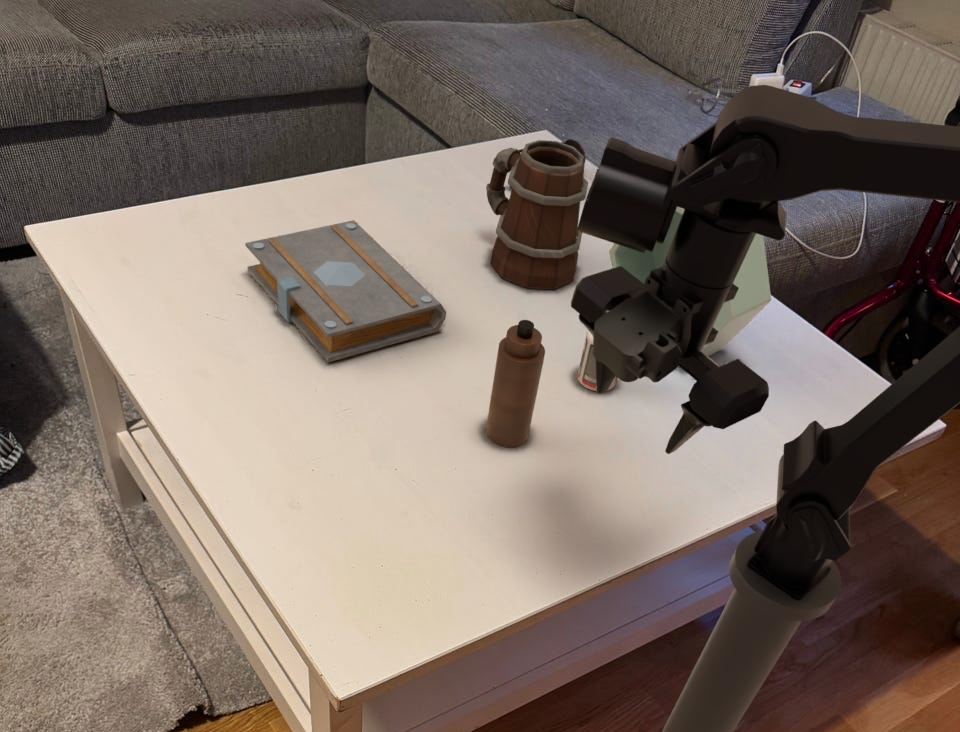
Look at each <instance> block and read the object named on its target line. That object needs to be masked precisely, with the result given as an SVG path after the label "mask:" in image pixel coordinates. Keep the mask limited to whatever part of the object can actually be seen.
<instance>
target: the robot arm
mask: <svg viewBox="0 0 960 732" xmlns="http://www.w3.org/2000/svg"><path fill="white" fill-rule="evenodd" d="M826 191H827V192H828V191H847V192H856V193H867V194H877V195H886V196H893V197H904V198H905V197H906V198H913V199H922V200H931V201H932V200H933V201H943V202H951V203H960V126H956V125H948V124H947V125H946V124H934V123H924V122H923V123H922V122H916V121H915V122H913V121H903V120H895V119H894V120H891V119H882V118H872V117H861V116H855V115H850V114H846V113H843V112H840V111H838V110H836V109H833V108H831V107H829V106H828V105H826V104H824V103H822V102H820V101H817V100H816V99H814V98H811V97H809V96H807V95H803V94H800V93H797V92H793V91H790V90H786V89H783V88H780V87H776V86H773V85H768V84H757V85H749V86H747V87H745V88H742V89H741V90H740V91H739V92H737V93H736V94H735V95H734V96H732V97H731V98H730V99H728V100H727V101H726V103H725V105H724V106H723V107H722V109H721V110H720V112H719V115H718V117H717V120H716V121H715V122H714V123H712V124H711V125H710V126H708V127H707V128H705V130H703V131H702V132H700V133H698V134H697V135H696V136H694V137H693V138H692V139H690V140H689V141H688V142H686V143H685V144H683V145H682V146H680V147H679V149H678V152H677V155H676V159H675V160H672V159H670V158H666V157H663V156H661V155H658V154H654V153H652V152H648V151H645V150H643V149H640V148H637V147H634V146H633V145H632V144H630V143H629V142H628V141H627V142H626V141H625V140H621V139H619V138H615V137H610V138H608V139H607V143H606V145H605V147H604V150H603V153H602V157H601V159H600V163H599V166H598V168H597V169H596V172H595V174H594V177H593V180H592V181H591V185H590V187H589V189H588V193H587V194H586V197H585V200H584V204H583V208H582V211H581V214H580V217H579V220H578V229H577V231H579V232H582V234H585V235H588V236H592V237H595V238H598V239H601V240H603V241H606V242H609V243H612V244H614V243H615V244H618V245H621V246H624V247H627V248H630V249H633V250H636V251H639V252H642V253H645V251H646V250H647V251H650V252H652V251H653V249H654V246H655V244H656V242H657V243H660V244H663V242H664V240H665V237H666V235H667V232H668V230H669V227H670V225H671V222H672V219H673V216H674V214H675V211H676V208H677V207H680V208H683V209H685V210H684V212H683V215H682V217H681V220H680V222H679V225H678V228H677V230H676V233H675V235H674V238H673V240H672V243H671V246H670V248H669V251H668V253H667V256H666V258H665V261H664V263H663V266H662V267H661V268H658V269H655V270H652V271H651V272H650V275H649V277H647V278H646V280H645V283H644V284H643V283H642V282H641V281H640V280H638V279H637V278H636V277H635V276H633V275H632V274H631V273H630V272H628V271H627V270H626V269H625V268H623V267H622V266H619V267H616V268H612V267H611V268H609V269H606V270H603V271H600V272H597V273H594V274H590V275H587V276H584V277H582V278H581V280H579V282H578V283H577V284H576V285H575V287H574V291H573V295H572V297H571V300H570V308H572V309H573V310H575V311H576V312H577V313H578V320H579V321H580V323H581V324H582V325H583V326H584V327H585V328H586V329H587V331H588V330H589V331H590V333H591V334H592V335H593V356H594V358H595V359H596V386H597V391H596V392H597V393H598V394H599V395H601V394H604V393H606V392H608V391H609V390H608V388H609V387H610V385H611V383H612V382H613V380H614V378H615V376H616V377H617V380H619V381H622V382H623V383H624V382H625V383H632V382H635V381H637V380H641V379H643V378H647V379H649V380H650V381H652V382H653V383H659V382H660V381H662V380H663V379H664V378H666V377H667V376H669V375H670V374H671V373H673V372H674V371H676V370H677V368H680V369H681V370H683V371H684V372H685V373H687V375H688V376H690V377H691V378H692V379H693V380H695V382H694V383H693V385H692V387H691V389H690V391H689V393H688V400H687V401H685V402H683V403H681V404H680V407H681V410H682V412H683V413H682V415H681V417H680V419H679V421H678V423H677V424H676V426H675V428H674V430H673V432H672V434H671V436H670V438H669V439H668V442H667V444H666V447H665V451H664V452H665V453H666V454H667V455H670V454H672V453H674V452H676V451H677V450H678V449H679V448H681V447H682V446H683V445H684V444H685V443H686V442H688V441H689V440H690V439H691V438H692V437H693V436H695V435H696V434H698V432H700V431H701V430H702V429H703V428H705V427H713V428H716V429H720V430H725V429H727V428H730V426H733V425H735V424H738V423H740V422H742V421H743V420H746V419H748V418H750V417H752V416H753V415H756V414H758V413H761V411H762V409H763V408H764V406H765V404H766V402H767V400H768V399H769V396H770V386H769V383H768V381H766V379H764V378H763V377H762V376H760V375H759V374H758V373H756V372H755V371H754V370H753V369H752V368H750V367H749V366H748V365H747V364H746V363H744V362H743V361H741V360H740V359H739V358H736V359H734V360H731V361H728V362H727V363H724V364H722V365H720V364H718V363H717V362H716V361H715V360H713V359H712V358H711V357H710V356H707V355H706V354H705V353H703V352H702V349H703V347H704V345H706V344H709V343H711V342H714V340H715V338H716V336H717V334H718V331H717V330H716V329H715V328H713V325H714V323H715V321H716V319H717V317H718V315H719V312H720V310H721V308H722V306H723V304H724V302H727V301H730V300H732V299H734V298H735V295H736V293H737V291H738V289H739V288H738V287H737V286H736V285H734V284H733V282H734V280H735V278H736V276H737V273H738V271H739V269H740V267H741V265H742V263H743V261H744V258H745V256H746V254H747V252H748V250H749V248H750V245H751V243H752V241H753V239H754V237H755V235H756V234H759V235H763V237H766V238H768V239H772V240H774V241H782V240H783V239H784V238H785V236H786V226H787V212H786V211H785V209H784V207H783V205H782V203H781V201H783V202H784V201H792V200H796V199H799V198H802V197H806V196H809V195H812V194H813V195H814V194H816V193H819V192H820V193H821V192H826ZM959 404H960V326H959V327H957V328H956V329H955V330H954V331H952V332H951V333H950V334H949V335H948V336H946V337H945V339H943V340H942V341H941V342H940V343H939V344H937V345H936V346H935V347H933V348H932V349H931V350H930V351H929V352H928V353H926V354H925V355H924V356H923V357H922V358H921V359H920V360H918V361H917V362H915V364H914V365H913V366H911V367H910V368H909V369H908V370H907V371H905V372H904V373H903V374H902V375H901V376H899V377H898V378H897V379H896V380H895V381H894V382H892V383H891V384H890V385H889V386H887V388H885V389H884V390H883V391H882V392H880V393H879V394H878V395H877V396H876V397H874V398H873V400H871V401H870V402H869V403H868V404H867V405H865V406H864V407H863V408H862V409H861V410H860V411H858V412H857V413H856V414H855V415H854V416H852V418H849V420H847V421H846V422H844V423H843V424H840V425H835V426H832V427H828V428H825V427H823V426H822V424H820V422H818V421H817V420H813V421H811V422H810V423H808V424H807V426H806V427H805V429H804V430H803V431H802V432H801V433H800V434H799V435H798V436H796V437H795V438H794V439H792V440H790V441H788V442H785V443H784V444H783V454H782V455H781V456H780V459H779V461H778V468H777V469H778V471H777V488H776V503H775V505H776V506H775V507H776V508H775V509H776V514H775V515H774V516H773V517H772V518H771V519H769V520H768V521H767V522H766V524H765V526H764V528H763V532H762V534H761V536H760V538H759V540H758V542H757V544H756V546H755V548H754V551H755V552H756V554H755V555H754V556H753V557H752V558H751V559H749V561H748V562H747V566H748V567H749V568H750V569H751V570H753V571H754V572H756V573H757V574H759V575H760V576H762V577H763V578H764V579H766V580H767V581H769V582H770V583H772V584H773V585H775V586H776V587H778V588H779V589H780V590H782V591H783V592H785V593H786V594H788V595H789V596H791V597H792V598H793V599H795V600H798V601H799V600H802V599H803V598H804V597H805V596H806V595H807V594H808V593H809V592H810V591H811V590H812V589H813V588H814V587H815V586H816V585H817V584H818V583H819V582H820V581H821V580H822V579H823V578H824V577H825V576H826V575H827V574H828V573H829V572H830V570H831V568H830V566H829V565H830V563H831V562H832V560H833V561H834V562H835V561H837V560H839V559H840V558H841V557H843V556H844V555H845V554H847V553H848V552H849V551H850V550H851V511H850V510H851V509H850V508H851V507H852V506H853V505H854V504H856V502H858V501H857V500H858V499H859V497H860V495H861V494H862V493H863V491H864V489H865V488H866V485H867V484H868V482H869V481H870V480H871V477H872V475H873V474H874V472H875V471H876V470H877V469H878V467H880V466H881V465H882V464H884V462H886V461H887V460H888V459H890V458H891V457H892V456H894V455H895V454H896V453H898V452H899V451H900V450H901V449H903V448H905V446H906V445H908V444H909V443H911V442H912V441H913V440H914V439H915V438H918V436H919V435H921V434H922V433H923V432H924V431H926V430H928V428H929V427H931V426H932V425H934V424H935V423H936V422H937V421H939V420H940V419H941V418H942V417H944V416H945V415H947V414H948V413H949V412H950V411H952V410H953V409H954V408H955V407H957V406H958V405H959Z"/></svg>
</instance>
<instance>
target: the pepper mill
mask: <svg viewBox="0 0 960 732" xmlns="http://www.w3.org/2000/svg"><path fill="white" fill-rule="evenodd" d="M542 340H543V336H542V333H541V332H540V331H539V330H538V329H537V328H536V327H535V323H534V322H533V321H531V320H529V319H522V320H520V321H518V324H514V325H512V326H510V327H509V328H508V329H507V331H506V335H505V337H503V338H502V339H501V340H500V341H499V343H498V348H497V354H496V362H495V368H494V375H493V380H492V381H493V382H492V386H491V387H492V388H491V394H490V401H489V407H488V412H487V414H488V415H487V420H486V426H485V434H486V437H487V439H489V441H491V442H492V443H493V444H495V445H497V446H499V447H504V448H517V447H521V446H523V445H524V444H525V443H526V442H527V441H528V440H529V436H530V431H531V430H530V429H531V425H532V419H533V415H534V410H535V405H536V401H537V395H538V391H539V386H540V381H541V375H542V370H543V365H544V360H545V356H546V355H545V354H546V348H545V346H544V345H543V344H542Z"/></svg>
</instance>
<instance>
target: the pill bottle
mask: <svg viewBox="0 0 960 732" xmlns="http://www.w3.org/2000/svg"><path fill="white" fill-rule="evenodd" d="M577 380H578V382H579V383H580V385H581V386H583V387H584V388H586V389H588V390H591V391H594V392H597V386H596V359H595V358H594V356H593V335H592V334H591V333H590V331H589V330H588V329H587V332H586V336H585V341H584V345H583V349H582V353H581V358H580V362H579V367H578V371H577ZM617 381H618V378H617V377H616V376H615V378H614V380H613V382H612V383H611V385H610V387H609V388H608V390H607V391H610V390H612V389H613V388H614V387H615V386H616V383H617Z"/></svg>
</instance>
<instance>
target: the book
mask: <svg viewBox="0 0 960 732" xmlns="http://www.w3.org/2000/svg"><path fill="white" fill-rule="evenodd" d="M244 245H245V248H246V249H248V251H249V252H250V253H251V254H252V255H253V256H254V257H255V259H256V260H257V261H258V262H259V263H258V264H254V265H249V266H247V272H248V274H249V275H251V276H252V278H253V279H254V280H255V281H256V282H257V283H258V285H259V286H260V287H261V288H262V289H263V291H265V293H266V294H267V296H269V297H270V298H271V300H272V301H273V302H274V303H275V304H276V305H277V306H278V313H279V314H280V315H281V317H282V318H283V319H284V320H285V321H286V323H288V324H291V323H293V325H294V326H295V327H296V328H297V329H298V330H299V331H300V332H301V333H302V334H303V336H304V337H305V338H306V339H307V340H308V341H309V343H311V345H312V346H313V347H314V348H315V349H316V351H318V353H319V354H320V355H321V356H322V358H324V359H325V361H326V362H328V363H331V362H335V361H339V360H341V359H342V360H343V359H345V358H349V357H352V356H357V355H359V354H364V353H367V352H370V351H373V350H378V349H381V348H384V347H388V346H391V345H395V344H398V343H402V342H405V341H410V340H413V339H416V338H420V337H423V336H427V335H430V334H434V333H437V332H439V331H440V329H441V328H442V327H443V324H444V323H445V321H446V319H447V310H446V308H444V306H443V305H442V303H441V302H440V301H439V300H438V299H437V298H436V297H435V296H434V295H433V294H432V293H430V291H428V289H426V287H424V286H423V285H422V284H421V283H420V282H419V281H418V280H417V279H416V278H415V277H414V276H413V275H412V274H411V273H409V271H408V270H406V269H405V267H404V266H403V265H401V264H400V263H399V262H398V261H397V260H396V259H395V258H394V257H393V256H392V255H391V254H390V253H389V252H388V251H387V250H386V249H385V248H384V247H382V246H381V244H379V243H378V241H376V240H375V239H374V238H373V237H372V236H371V234H369V233H368V232H367V231H366V230H365V229H364V228H363V227H362V226H361V225H360V224H359V223H358V222H357V221H356V220H355V219H352V220H348V221H343V222H337V223H335V224H329V225H324V226H320V227H315V228H310V229H305V230H300V231H295V232H291V233H287V234H282V235H277V236H272V237H267V238H263V239H258V240H253V241H248V242H245V243H244Z"/></svg>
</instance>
